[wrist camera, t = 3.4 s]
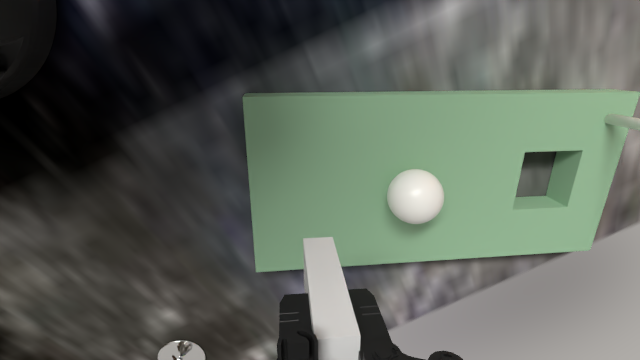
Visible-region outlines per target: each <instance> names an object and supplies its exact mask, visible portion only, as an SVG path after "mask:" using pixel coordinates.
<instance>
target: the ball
mask: <svg viewBox="0 0 640 360" xmlns="http://www.w3.org/2000/svg"><path fill="white" fill-rule="evenodd" d="M387 201H388V205H389V207H390V209H391V211H392V213H393V214H394V215H395V216H396V217H397V218H399V219H400V220H402V221H404V222H406V223H410V224H422V223H425V222H428V221H430V220H432V219H433V218H435V217H436V216H437V215H438V213H439V212H440V210H441V208H442V206H443V203H444V191H443V188H442V185H441V183H440V182H439V180H438V179H437V178H436V177H435V176H434V175H432V174H431V173H429V172H427V171H424V170H421V169H410V170H406V171H403V172H401V173H400V174H398V175H397V176H396V177H395V178H394V179H393V180H392V181H391V183H390V185H389V187H388V191H387Z"/></svg>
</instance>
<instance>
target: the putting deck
mask: <svg viewBox="0 0 640 360" xmlns="http://www.w3.org/2000/svg"><path fill="white" fill-rule="evenodd" d="M639 95H640V92H634V91H624V90H614V89H581V90H490V91H398V92H306V93H246V94H245V95H244V96H243V97H242V99H243V112H244V125H245V138H246V151H247V164H248V176H249V189H250V202H251V215H252V228H253V241H254V254H255V267H256V272H267V271H282V270H297V269H304V255H303V238H320V237H333V240H334V244H335V247H336V251H337V254H338V258H339V261H340V265H341V267H343V266H359V265H374V264H389V263H404V262H420V261H435V260H450V259H466V258H481V257H496V256H511V255H527V254H542V253H557V252H573V251H587V250H590V248H591V246H592V243H593V239H594V236H595V233H596V230H597V227H598V224H599V221H600V218H601V214H602V211H603V208H604V205H605V202H606V199H607V196H608V192H609V189H610V186H611V183H612V180H613V177H614V174H615V170H616V167H617V164H618V161H619V158H620V155H621V152H622V149H623V145H624V142H625V139H626V136H627V133H628V130H629V128H630V129H635V130H640V118H634V117H633V114H634V111H635V108H636V105H637V101H638V98H639ZM545 151H557V152H556V156H555V160H554V164H553V168H552V172H551V176H550V180H549V184H548V188H547V192H546V196H530V197H515V196H516V191H517V187H518V182H519V178H520V173H521V168H522V164H523V159H524V154H525V152H545ZM410 169H421V170H424V171H427V172H429V173H431V174H432V175H434V176H435V177H436V178H437V179H438V180H439V182H440V183H441V185H442V188H443V191H444V203H443V206H442V208H441V210H440V212H439V213H438V215H437V216H436V217H435V218H433V219H432V220H430V221H428V222H425V223H422V224H410V223H406V222H404V221H402V220H400V219H399V218H397V217H396V216H395V215H394V214H393V213H392V211H391V209H390V207H389V205H388V201H387V191H388V187H389V185H390V183H391V181H392V180H393V179H394V178H395V177H396V176H397V175H398V174H400V173H401V172H403V171H406V170H410Z"/></svg>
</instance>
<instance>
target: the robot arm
mask: <svg viewBox="0 0 640 360" xmlns="http://www.w3.org/2000/svg"><path fill="white" fill-rule="evenodd" d="M56 21H57V7H56V0H0V99H1V98H3V97H6V96H8V95H10V94H12V93H14V92H16V91H17V90H19V89H20V88H22V87H23V86H24V85H26V84H27V83H28V82H29V81H30V80H31V79H32V78H33V77H34V76H35V75H36V74H37V73H38V71H39V70H40V69H41V67H42V66H43V64H44V62H45V61H46V59H47V57H48V55H49V52H50V50H51V47H52V44H53V40H54V36H55V30H56ZM303 255H304V288H305V294H291V295H284V297H283V299H282V301H281V302H280V324H279V339H278V343H277V353H278V358H277V360H424V359H419V358H414V357H411V356H407V355H406V354H403V353H402V352H401V351H400V349H399V348H398V347H397V346H396V345H394V344H393V343H392V341H391V339H390V336H389V333H388V331H387V328H386V326H385V323H384V320H383V318H382V315H381V314H380V310H379V308H378V305H377V302H376V300H375V297H374V295H372V294H371V293H370V292H369V291H368V290H367V289H352V290H348V289H347V286H346V282H345V279H344V275H343V272H342V268H341V265H340V261H339V258H338V254H337V251H336V247H335V244H334V240H333V237H320V238H303ZM428 360H463V359H462V358H461V357H459V356H458V355H456V354H454V353H451V352H447V351H437V352H434V353H433V354H431V355H430V357H429V359H428Z"/></svg>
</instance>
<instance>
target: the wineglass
mask: <svg viewBox="0 0 640 360" xmlns="http://www.w3.org/2000/svg"><path fill="white" fill-rule="evenodd" d="M205 357H206V356H205V353H204V350H203V349H202V348H201V347H200V346H199V345H198V344H196V343H194V342H191V341H188V340H175V341H171V342H169V343H167V344H165V345H164V346H163V347H162V348H161V349H160V351H159V353H158V360H205Z"/></svg>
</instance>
